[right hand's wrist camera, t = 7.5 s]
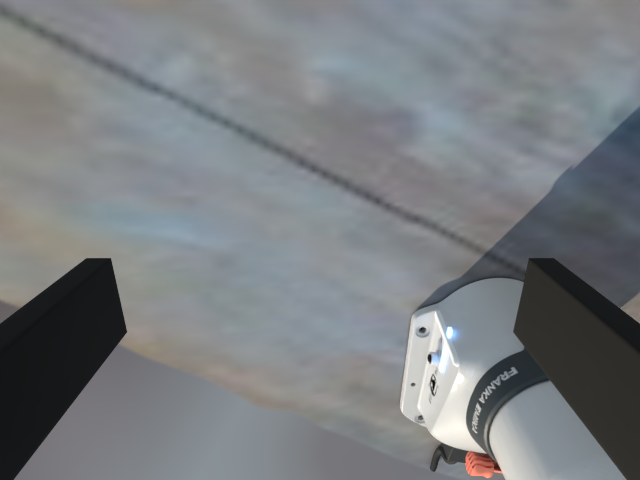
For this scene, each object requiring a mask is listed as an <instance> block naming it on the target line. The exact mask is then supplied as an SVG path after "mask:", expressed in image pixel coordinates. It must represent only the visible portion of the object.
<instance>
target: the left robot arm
mask: <svg viewBox="0 0 640 480" xmlns="http://www.w3.org/2000/svg"><path fill="white" fill-rule="evenodd" d="M523 284H524V282H522V281H519V280H515V279H509V278H490V279H484V280H480V281H476V282H473V283H470V284H468V285H466V286H464V287H462V288H460V289H458V290H457V291H455V292H454V293H452V294H451V295H449V296H448V297H447V298H445V299H444V300H443V301H441V302H439V303H437V304H434V305H430V306H427V307H424V308H422V309H419V310H417V311H416V312H415V313H414V314H413V316H412V319H411V326H410V333H409V341H408V348H407V355H406V362H405V370H404V377H403V384H402V392H401V399H400V408H401V411H402V413H403V414H404V415H405V416H406V417H408V418H409V419H410V420H412V421H414V422H416V423H418V424H420V425H422V426H425V427H427V428H428V430H429V432H430V433H431V434H432V435H433V436H434V437H435V438H436V439H438V440H439V441H441V442H442V445H443V447H438V448H437V449H436V450H435V452H434V455H433V459H432V463H431V466H430V469H431V471H433V472H434V471H436V468H437V465H438V461H439V458H440V455H442V457H443V459H444V461H445V462H446V463H448V464H455V463H457V462H462V463H466V467H467V468H466V469H467V471H468V473H469V474H471V475H472V476H485V477H486V478H490V477H491V476H492V475H493V472H498V473H503V475H504V477H505V479H506V480H626V478H625V477H624V476H623V475H622V473H621V472H620V471H619V469H618V468H617V467H616V465H615V464H614V463H613V462H612V460H611V459H610V458H609V456H608V455H607V454H606V452H605V451H604V450H603V448H602V447H601V446H600V445H599V443H598V442H597V441H596V439H595V438H594V437H593V435H592V434H591V433H590V432H589V430H588V429H587V428H586V426H585V425H584V424H583V422H582V421H581V420H580V419H579V417H578V416H577V415H576V413H575V412H574V411H573V409H572V408H571V407H570V406H569V404H568V403H567V402H566V400H565V399H564V398H563V396H562V395H561V394H560V393H559V391H558V390H557V389H556V387H555V386H554V385H553V383H552V382H551V381H550V380H549V378H548V377H547V376H546V374H545V373H544V372H543V370H542V369H541V368H540V367H539V365H538V364H537V363H536V361H535V360H534V359H533V357H532V356H531V355H530V354H529V352H528V351H527V350H526V348H525V347H524V346H523V344H522V343H521V342H520V341H519V339H518V338H517V337H516V335H515V334H514V333H513V330H514V325H515V321H516V316H517V311H518V307H519V302H520V298H521V293H522V289H523ZM421 327H425V328H424V329H422V330H419V329H420V328H421ZM420 415H421V416H420ZM485 453H487V454H485ZM492 459H493V460H492Z"/></svg>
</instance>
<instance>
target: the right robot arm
mask: <svg viewBox="0 0 640 480" xmlns="http://www.w3.org/2000/svg"><path fill="white" fill-rule="evenodd" d="M126 333H127V330H126V325H125V321H124V316H123V311H122V307H121V302H120V298H119V293H118V289H117V284H116V279H115V275H114V270H113V266H112V261H111V258H86V259H85V260H84V261H82V262H81V263H80V264H78V265H77V266H76V267H74V268H73V269H72V270H70V271H69V272H68V273H66V274H65V275H64V276H62V277H61V278H60V279H59V280H57V281H56V282H55V283H53V284H52V285H51V286H49V287H48V288H47V289H45V290H44V291H43V292H41V293H40V294H39V295H37V296H36V297H35V298H34V299H32V300H31V301H30V302H28V303H27V304H26V305H24V306H23V307H22V308H20V309H19V310H18V311H16V312H15V313H14V314H12V315H11V316H10V317H9V318H7V319H6V320H5V321H3V322H2V323H1V324H0V480H14V478H15V477H16V476H17V475H18V473H19V472H20V471H21V469H22V468H23V467H24V465H25V464H26V463H27V461H28V460H29V459H30V458H31V456H32V455H33V454H34V452H35V451H36V450H37V448H38V447H39V446H40V445H41V443H42V442H43V441H44V439H45V438H46V437H47V435H48V434H49V433H50V432H51V430H52V429H53V428H54V426H55V425H56V424H57V422H58V421H59V420H60V419H61V417H62V416H63V415H64V413H65V412H66V411H67V409H68V408H69V407H70V406H71V404H72V403H73V402H74V400H75V399H76V398H77V396H78V395H79V394H80V393H81V391H82V390H83V389H84V387H85V386H86V385H87V383H88V382H89V381H90V380H91V378H92V377H93V376H94V374H95V373H96V372H97V370H98V369H99V368H100V367H101V365H102V364H103V363H104V361H105V360H106V359H107V357H108V356H109V355H110V354H111V352H112V351H113V350H114V348H115V347H116V346H117V344H118V343H119V342H120V341H121V339H122V338H123V337H124V335H125V334H126ZM513 333H514V334H515V335H516V337H517V338H518V339H519V341H520V342H521V343H522V344H523V346H524V347H525V348H526V350H527V351H528V352H529V354H530V355H531V356H532V357H533V359H534V360H535V361H536V363H537V364H538V365H539V367H540V368H541V369H542V370H543V372H544V373H545V374H546V376H547V377H548V378H549V380H550V381H551V382H552V383H553V385H554V386H555V387H556V389H557V390H558V391H559V393H560V394H561V395H562V396H563V398H564V399H565V400H566V402H567V403H568V404H569V406H570V407H571V408H572V409H573V411H574V412H575V413H576V415H577V416H578V417H579V419H580V420H581V421H582V422H583V424H584V425H585V426H586V428H587V429H588V430H589V432H590V433H591V434H592V435H593V437H594V438H595V439H596V441H597V442H598V443H599V445H600V446H601V447H602V448H603V450H604V451H605V452H606V454H607V455H608V456H609V458H610V459H611V460H612V462H613V463H614V464H615V465H616V467H617V468H618V469H619V471H620V472H621V473H622V475H623V476H624V477H625V478H626V480H640V324H639V323H638V322H637V321H635V320H634V319H633V318H632V317H630V316H629V315H628V314H626V313H625V312H624V311H622V310H621V309H620V308H618V307H617V306H616V305H614V304H613V303H612V302H610V301H609V300H608V299H606V298H605V297H604V296H603V295H601V294H600V293H599V292H597V291H596V290H595V289H593V288H592V287H591V286H589V285H588V284H587V283H585V282H584V281H583V280H581V279H580V278H579V277H578V276H576V275H575V274H574V273H572V272H571V271H570V270H568V269H567V268H566V267H564V266H563V265H562V264H560V263H559V262H558V261H556V260H555V259H554V258H529V261H528V266H527V270H526V275H525V279H524V284H523V289H522V293H521V298H520V302H519V307H518V311H517V316H516V321H515V325H514V330H513Z"/></svg>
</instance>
